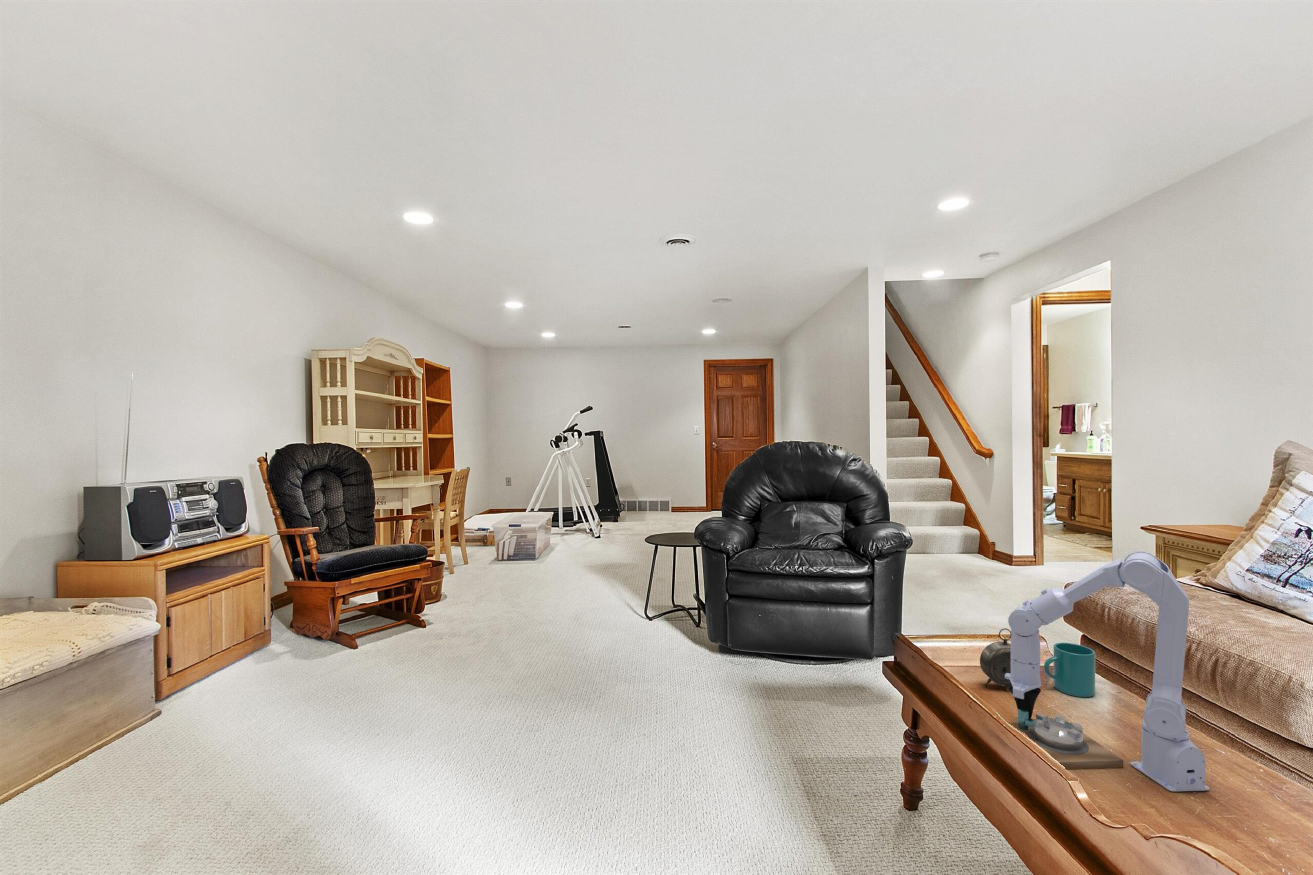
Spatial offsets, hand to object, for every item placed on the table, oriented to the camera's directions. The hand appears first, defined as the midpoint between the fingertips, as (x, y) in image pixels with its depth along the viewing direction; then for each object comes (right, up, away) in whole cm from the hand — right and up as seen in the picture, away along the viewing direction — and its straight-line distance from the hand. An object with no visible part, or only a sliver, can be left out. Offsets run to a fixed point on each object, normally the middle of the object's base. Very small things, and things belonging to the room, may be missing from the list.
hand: (1025, 718), depth 134 cm
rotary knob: (+2, -1, -5) cm, 6 cm away
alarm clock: (+9, -3, +23) cm, 25 cm away
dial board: (+3, -4, -6) cm, 8 cm away
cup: (+25, -3, +22) cm, 34 cm away
